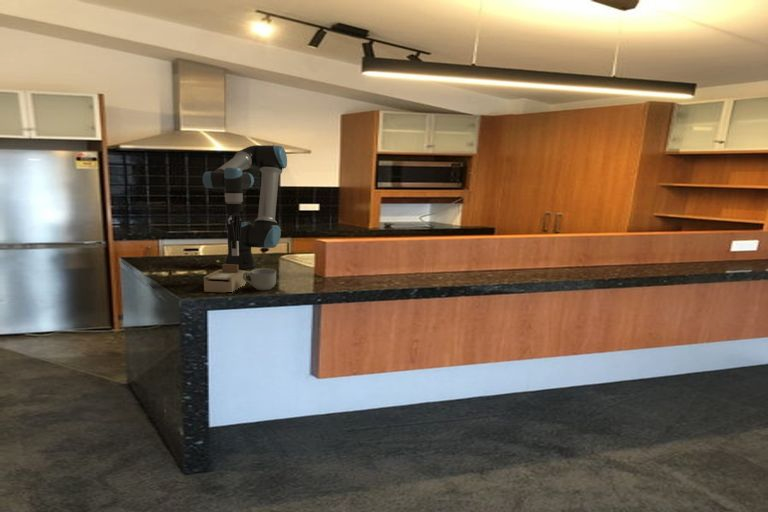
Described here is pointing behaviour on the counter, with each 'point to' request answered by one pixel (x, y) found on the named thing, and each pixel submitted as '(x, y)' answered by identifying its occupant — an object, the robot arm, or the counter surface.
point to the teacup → (262, 278)
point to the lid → (226, 272)
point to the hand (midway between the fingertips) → (235, 255)
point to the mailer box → (224, 282)
